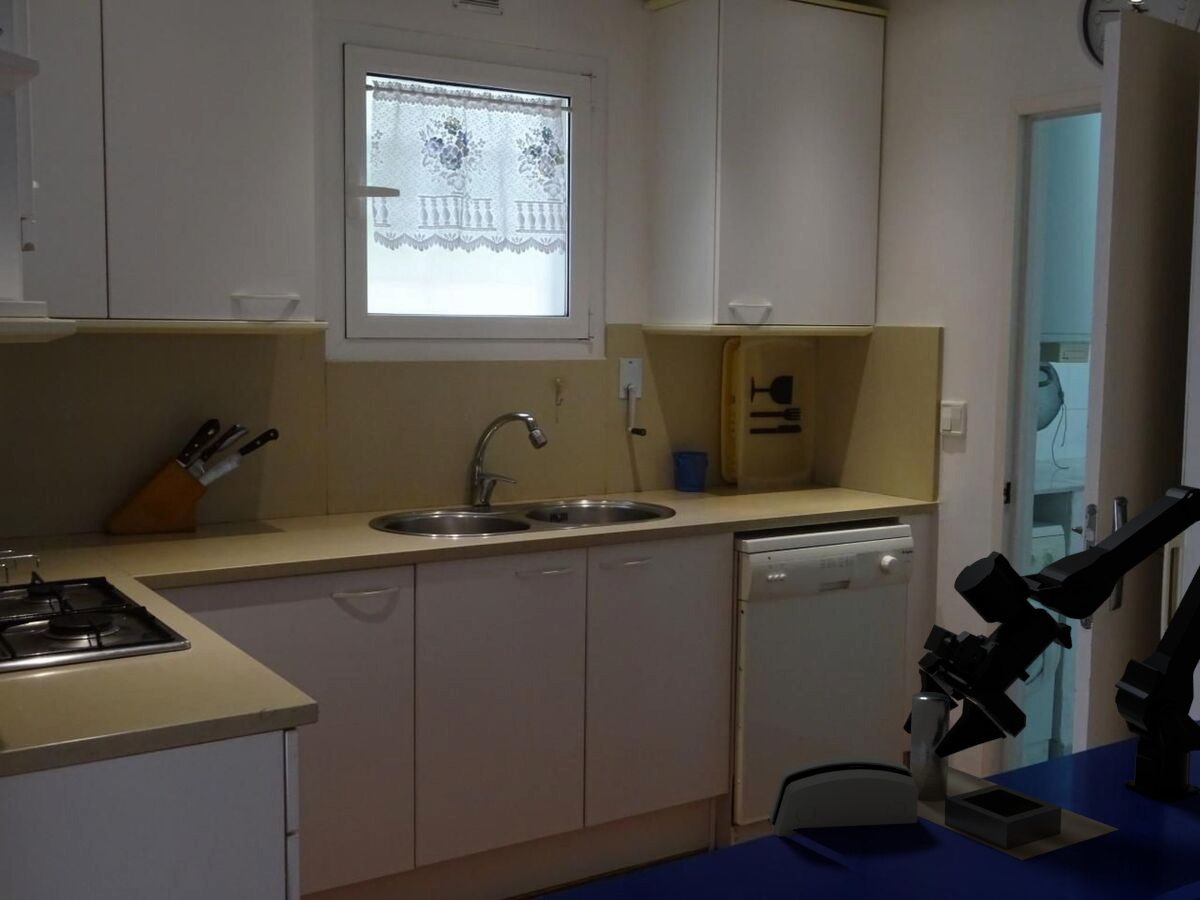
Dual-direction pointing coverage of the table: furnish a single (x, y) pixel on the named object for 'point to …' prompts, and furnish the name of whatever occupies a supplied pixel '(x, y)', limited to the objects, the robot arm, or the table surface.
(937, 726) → the pin
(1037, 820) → the knuckle socket
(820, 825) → the grey arched block
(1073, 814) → the board
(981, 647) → the robot arm
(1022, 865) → the table surface
